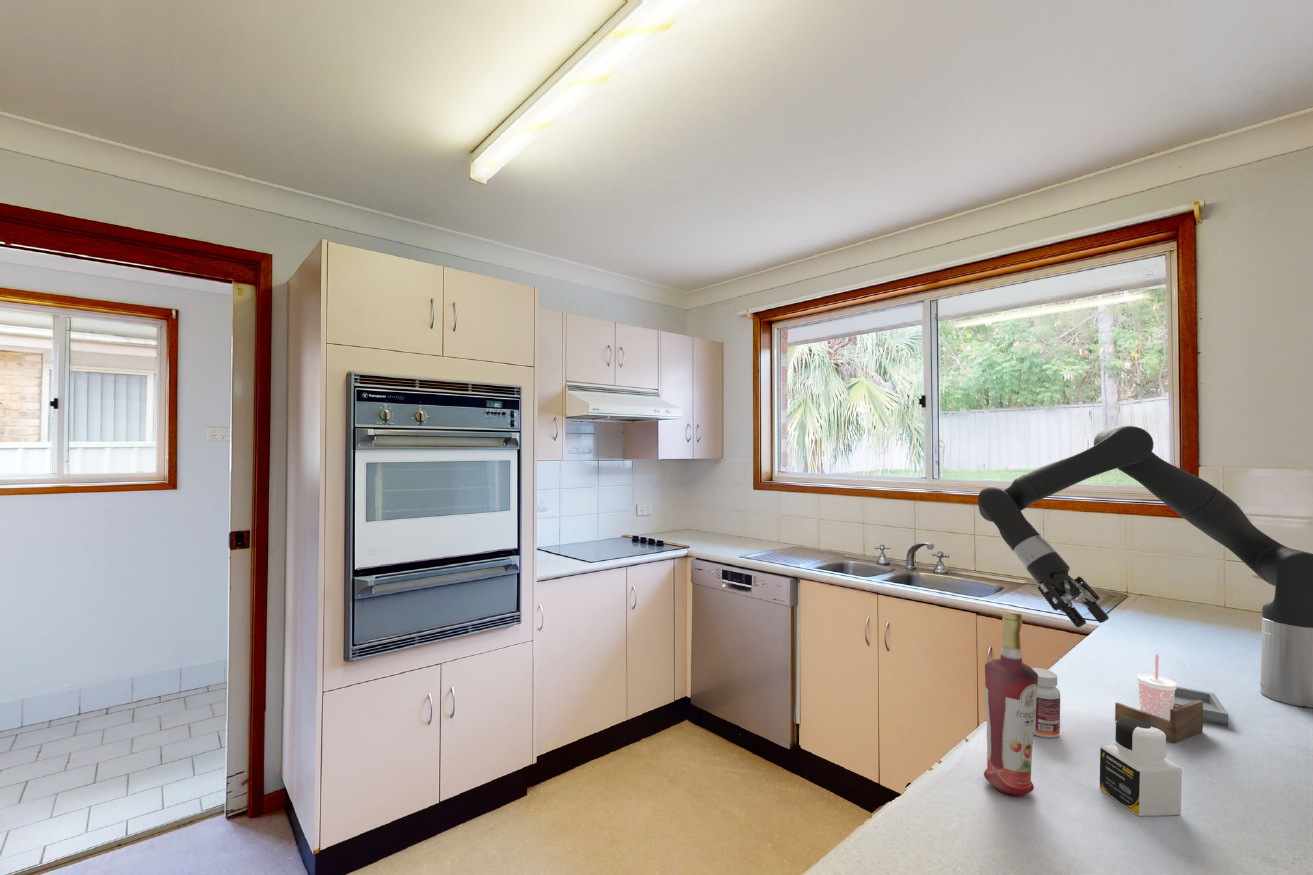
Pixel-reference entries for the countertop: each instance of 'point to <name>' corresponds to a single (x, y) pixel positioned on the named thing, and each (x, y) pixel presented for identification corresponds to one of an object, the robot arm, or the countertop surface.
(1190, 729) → the walnut bay
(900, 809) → the countertop surface
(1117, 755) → the medicine bottle
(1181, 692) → the grey tray
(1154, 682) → the beverage cup
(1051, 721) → the pill bottle
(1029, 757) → the liquor
